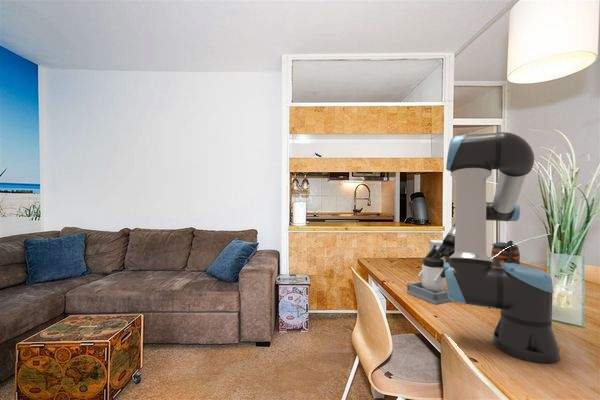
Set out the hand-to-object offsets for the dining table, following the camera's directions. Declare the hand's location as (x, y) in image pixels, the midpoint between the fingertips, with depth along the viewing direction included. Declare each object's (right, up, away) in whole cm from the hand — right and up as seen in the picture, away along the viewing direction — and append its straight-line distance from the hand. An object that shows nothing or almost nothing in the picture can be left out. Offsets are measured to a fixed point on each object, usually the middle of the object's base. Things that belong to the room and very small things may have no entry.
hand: (428, 279), depth 129 cm
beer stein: (+56, -7, +33) cm, 66 cm away
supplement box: (+24, -6, +44) cm, 51 cm away
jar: (+3, -4, +2) cm, 5 cm away
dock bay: (+2, -7, +1) cm, 8 cm away
